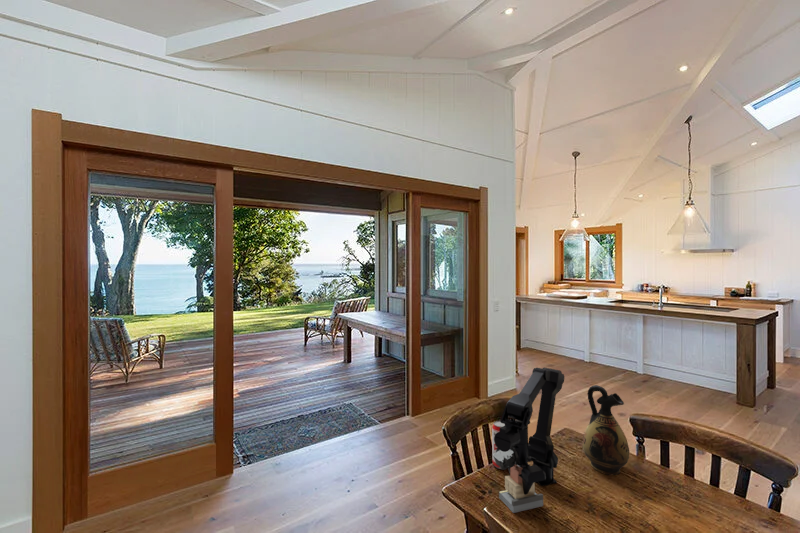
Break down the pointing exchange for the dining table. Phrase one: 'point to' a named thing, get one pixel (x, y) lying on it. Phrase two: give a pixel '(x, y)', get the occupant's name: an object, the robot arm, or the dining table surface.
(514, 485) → the beige slotted block
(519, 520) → the dining table surface
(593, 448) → the ceramic jug
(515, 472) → the block
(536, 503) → the dock
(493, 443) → the beer can
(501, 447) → the robot arm
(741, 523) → the dining table surface
